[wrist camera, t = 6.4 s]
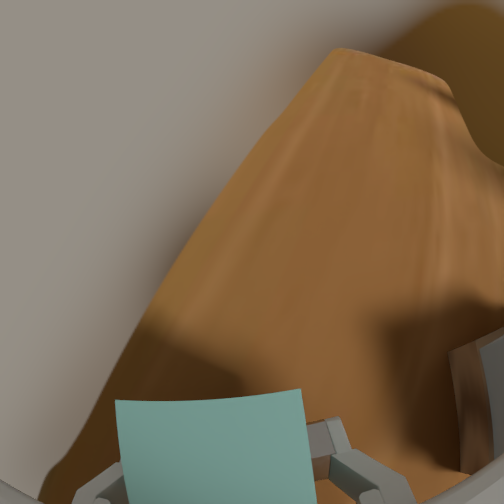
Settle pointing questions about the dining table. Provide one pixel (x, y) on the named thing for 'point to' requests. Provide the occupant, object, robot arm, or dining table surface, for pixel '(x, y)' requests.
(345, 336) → the dining table surface
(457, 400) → the walnut block
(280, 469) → the teal block
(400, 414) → the dining table surface
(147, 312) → the dining table surface
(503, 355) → the grey block
